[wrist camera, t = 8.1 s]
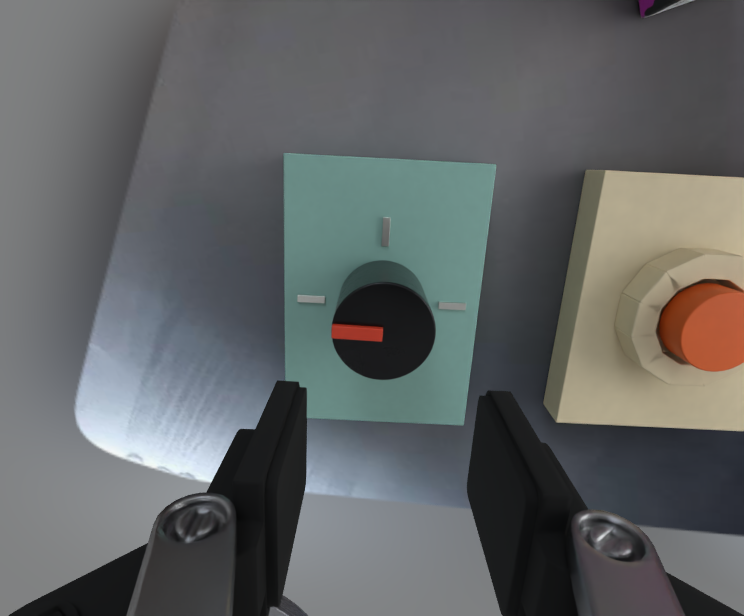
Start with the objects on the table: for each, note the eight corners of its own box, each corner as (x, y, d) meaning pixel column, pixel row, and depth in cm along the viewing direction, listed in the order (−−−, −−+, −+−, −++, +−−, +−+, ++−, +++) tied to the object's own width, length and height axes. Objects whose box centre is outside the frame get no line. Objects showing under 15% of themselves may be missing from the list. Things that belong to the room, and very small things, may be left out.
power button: (726, 359, 24) (753, 374, 22) (650, 355, 24) (671, 370, 22) (749, 284, 23) (780, 294, 21) (669, 280, 22) (693, 289, 21)
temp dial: (429, 263, 23) (443, 287, 18) (420, 345, 24) (431, 387, 20) (340, 257, 23) (332, 280, 18) (336, 339, 24) (328, 380, 19)
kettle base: (717, 411, 29) (769, 450, 25) (542, 403, 29) (568, 440, 25) (789, 180, 24) (866, 183, 21) (585, 169, 24) (624, 170, 21)
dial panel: (454, 399, 28) (464, 427, 25) (294, 392, 28) (284, 419, 25) (482, 164, 24) (497, 164, 21) (293, 154, 24) (282, 152, 21)
